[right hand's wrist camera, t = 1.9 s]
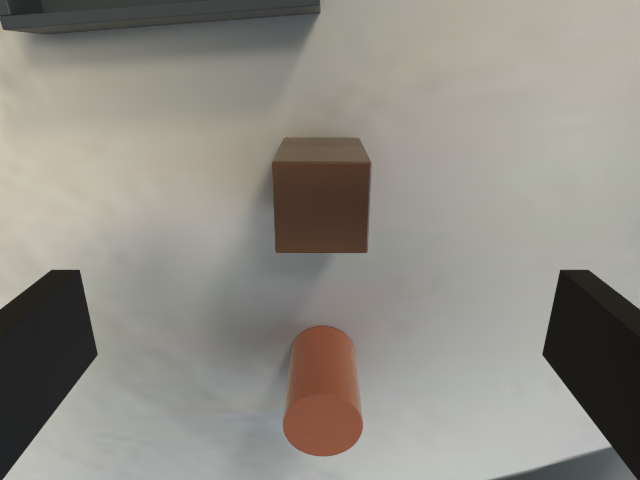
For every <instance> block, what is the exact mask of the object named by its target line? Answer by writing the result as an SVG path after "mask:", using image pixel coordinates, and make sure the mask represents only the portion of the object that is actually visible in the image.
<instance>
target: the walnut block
mask: <svg viewBox="0 0 640 480" xmlns="http://www.w3.org/2000/svg"><path fill="white" fill-rule="evenodd" d="M272 170H273V197H274V224H275V250H276V252H277V253H367V251H368V230H369V206H370V183H371V161H370V159H369V157H368V155H367V153H366V151H365V149H364V147H363V145H362V143H361V141H360V139H359V138H284V140H283V142H282V144H281V146H280V148H279V150H278V152H277V154H276V156H275V158H274V160H273V163H272Z"/></svg>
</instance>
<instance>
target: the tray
mask: <svg viewBox="0 0 640 480" xmlns="http://www.w3.org/2000/svg"><path fill="white" fill-rule="evenodd" d="M314 13H320V0H0V21H1V24H2V27H3V29H4V30H10V31H19V32H29V33H39V34H55V33H68V32H81V31H94V30H107V29H120V28H133V27H146V26H159V25H172V24H185V23H198V22H211V21H224V20H237V19H250V18H263V17H275V16H288V15H301V14H314Z"/></svg>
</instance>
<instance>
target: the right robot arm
mask: <svg viewBox="0 0 640 480" xmlns="http://www.w3.org/2000/svg"><path fill="white" fill-rule="evenodd" d="M97 355H98V354H97V349H96V345H95V340H94V335H93V330H92V326H91V321H90V316H89V312H88V307H87V302H86V297H85V293H84V288H83V283H82V278H81V274H80V270H51V271H50V272H48V273H47V274H46V275H44V276H43V277H42V278H40V279H39V280H38V281H37V282H35V283H34V284H33V285H31V286H30V287H29V288H28V289H26V290H25V291H24V292H22V293H21V294H20V295H18V296H17V297H16V298H15V299H13V300H12V301H11V302H9V303H8V304H7V305H5V306H4V307H3V308H2V309H0V480H3V478H4V477H5V476H6V474H7V473H8V472H9V470H10V469H11V468H12V466H13V465H14V464H15V463H16V461H17V460H18V459H19V457H20V456H21V455H22V453H23V452H24V451H25V449H26V448H27V447H28V445H29V444H30V443H31V442H32V440H33V439H34V438H35V436H36V435H37V434H38V432H39V431H40V430H41V428H42V427H43V426H44V424H45V423H46V422H47V420H48V419H49V418H50V417H51V415H52V414H53V413H54V411H55V410H56V409H57V407H58V406H59V405H60V403H61V402H62V401H63V399H64V398H65V397H66V396H67V394H68V393H69V392H70V390H71V389H72V388H73V386H74V385H75V384H76V382H77V381H78V380H79V378H80V377H81V376H82V375H83V373H84V372H85V371H86V369H87V368H88V367H89V365H90V364H91V363H92V361H93V360H94V359H95V357H96V356H97ZM542 355H543V356H544V357H545V359H546V360H547V361H548V363H549V364H550V365H551V367H552V368H553V369H554V371H555V372H556V373H557V375H558V376H559V377H560V378H561V380H562V381H563V382H564V384H565V385H566V386H567V388H568V389H569V390H570V392H571V393H572V394H573V396H574V397H575V398H576V399H577V401H578V402H579V403H580V405H581V406H582V407H583V409H584V410H585V411H586V413H587V414H588V415H589V417H590V418H591V419H592V421H593V422H594V423H595V424H596V426H597V427H598V428H599V430H600V431H601V432H602V434H603V435H604V436H605V438H606V439H607V440H608V442H609V443H610V444H611V445H612V447H613V448H614V449H615V451H616V452H617V453H618V455H619V456H620V457H621V459H622V460H623V461H624V463H625V464H626V465H627V466H628V468H629V469H630V470H631V472H632V473H633V474H634V476H635V477H636V478H637V480H640V309H638V308H637V307H636V306H635V305H633V304H632V303H631V302H629V301H628V300H627V299H625V298H624V297H623V296H622V295H620V294H619V293H618V292H616V291H615V290H614V289H612V288H611V287H610V286H609V285H607V284H606V283H605V282H603V281H602V280H601V279H600V278H598V277H597V276H596V275H594V274H593V273H592V272H590V271H589V270H560V274H559V278H558V283H557V288H556V293H555V297H554V302H553V307H552V312H551V316H550V321H549V326H548V330H547V335H546V340H545V345H544V349H543V354H542Z"/></svg>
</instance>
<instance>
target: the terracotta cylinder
mask: <svg viewBox="0 0 640 480" xmlns="http://www.w3.org/2000/svg"><path fill="white" fill-rule="evenodd" d="M283 429H284V433H285V435H286V437H287V439H288V441H289V442H290V443H291V444H292V445H293V446H294V447H295V448H297V449H298V450H300V451H302V452H304V453H307V454H310V455H314V456H332V455H336V454H339V453H342V452H344V451H346V450H348V449H349V448H351V447H352V446H353V445H354V444H355V443H356V442H357V441H358V439H359V437H360V435H361V433H362V429H363V419H362V411H361V402H360V393H359V384H358V376H357V367H356V358H355V350H354V346H353V343H352V341H351V340H350V339H349V337H348V336H347V335H346V334H344V333H343V332H341V331H340V330H338V329H335V328H332V327H326V326H319V327H314V328H310V329H308V330H306V331H304V332H302V333H301V334H300V335H299V336H298V337H297V338H296V339H295V341H294V342H293V344H292V347H291V354H290V363H289V372H288V382H287V391H286V400H285V410H284V419H283Z"/></svg>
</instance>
